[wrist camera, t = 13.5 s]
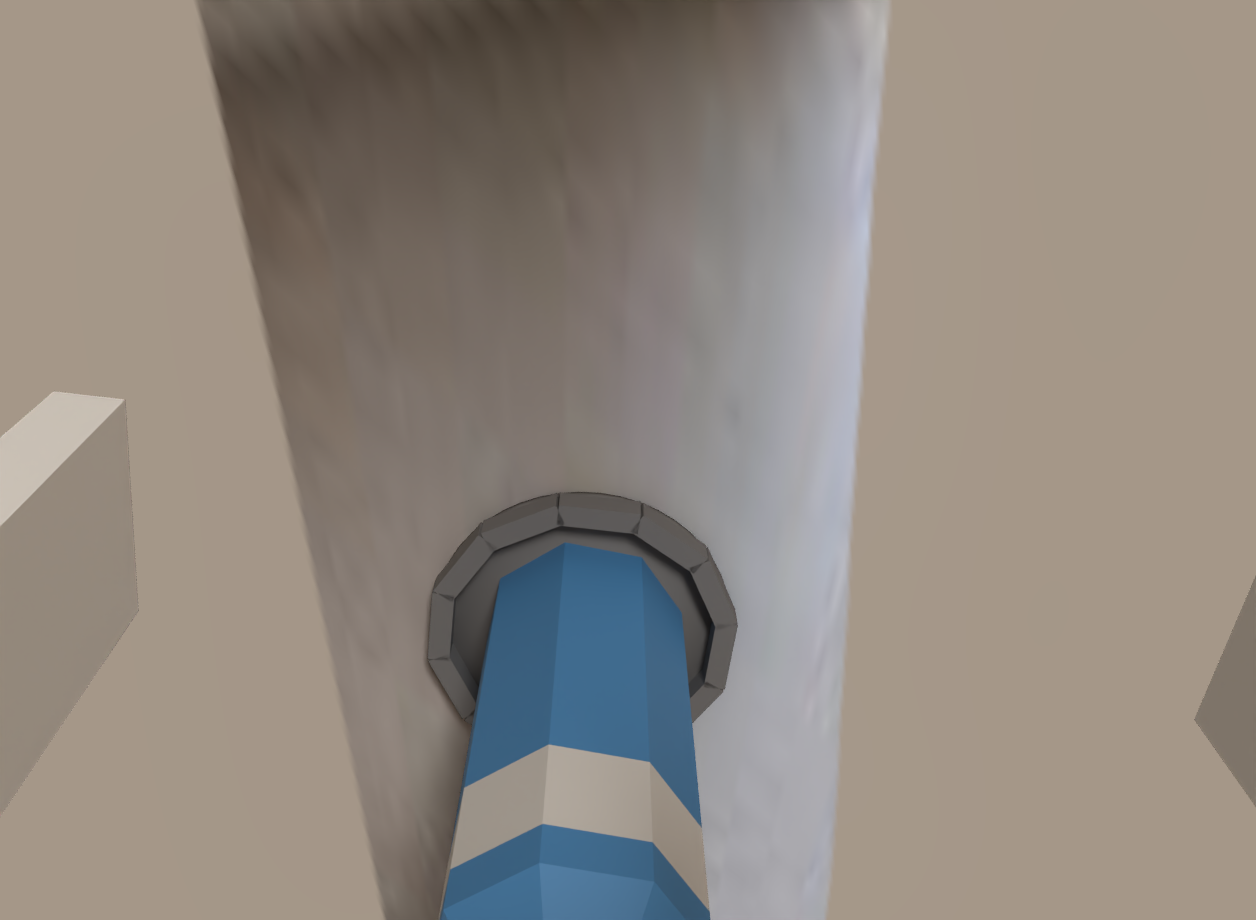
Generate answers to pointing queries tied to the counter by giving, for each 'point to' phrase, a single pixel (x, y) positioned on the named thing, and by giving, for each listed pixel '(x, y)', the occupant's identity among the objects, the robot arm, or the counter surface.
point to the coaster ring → (593, 523)
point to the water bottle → (580, 753)
